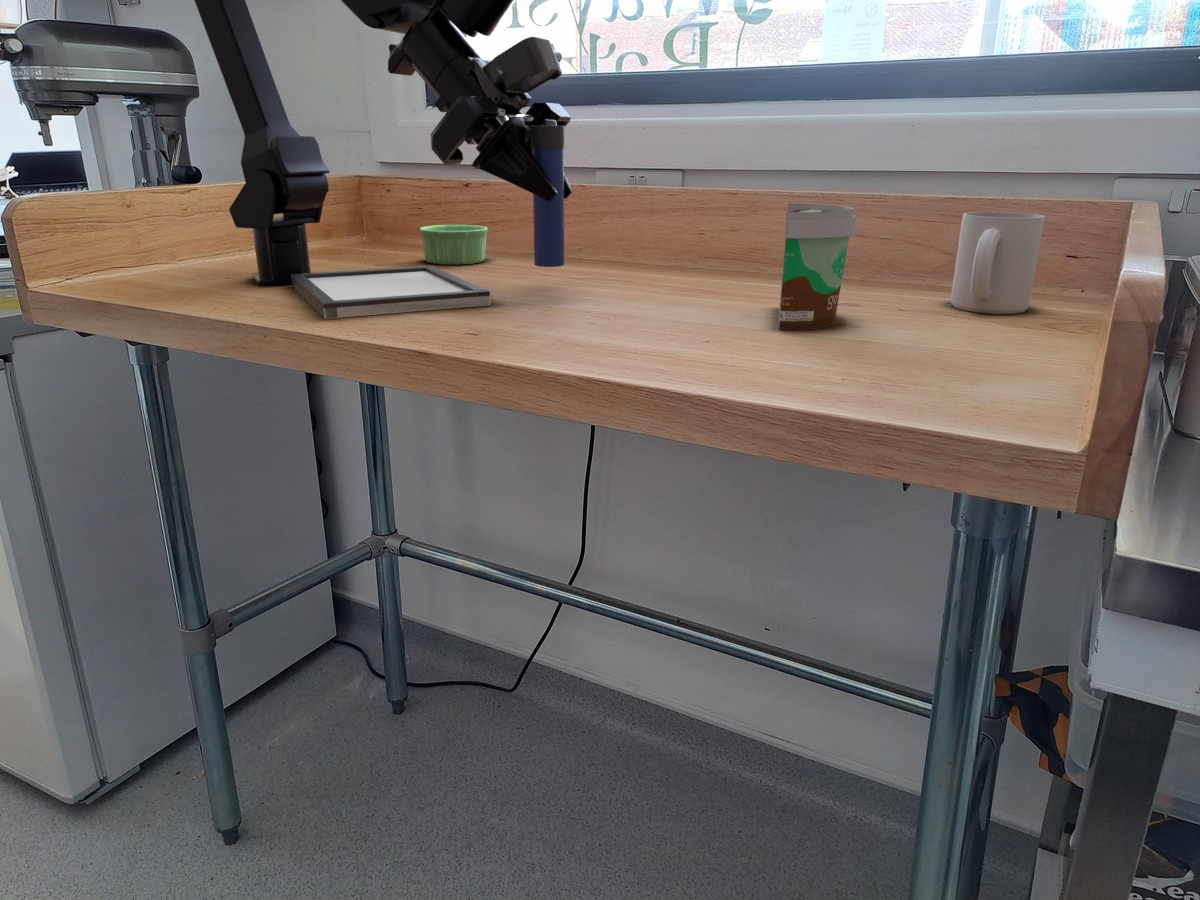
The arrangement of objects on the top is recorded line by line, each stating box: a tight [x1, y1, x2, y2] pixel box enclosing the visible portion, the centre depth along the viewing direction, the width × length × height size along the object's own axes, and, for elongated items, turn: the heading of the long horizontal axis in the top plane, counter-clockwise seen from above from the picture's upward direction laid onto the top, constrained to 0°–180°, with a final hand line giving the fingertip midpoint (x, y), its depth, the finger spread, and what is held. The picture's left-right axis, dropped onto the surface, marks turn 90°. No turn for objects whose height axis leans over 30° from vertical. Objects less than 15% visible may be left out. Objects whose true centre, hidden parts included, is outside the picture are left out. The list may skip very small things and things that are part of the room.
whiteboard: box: [291, 265, 492, 320], centre depth 90 cm, size 20×16×1 cm
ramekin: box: [419, 224, 489, 266], centre depth 115 cm, size 9×9×4 cm
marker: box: [531, 126, 566, 268], centre depth 83 cm, size 3×3×13 cm
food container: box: [778, 202, 859, 331], centre depth 77 cm, size 12×6×10 cm, turn 168°
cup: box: [950, 211, 1046, 315], centre depth 82 cm, size 7×10×9 cm
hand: (561, 196), depth 82 cm, fingers closed on marker, 3 cm apart
